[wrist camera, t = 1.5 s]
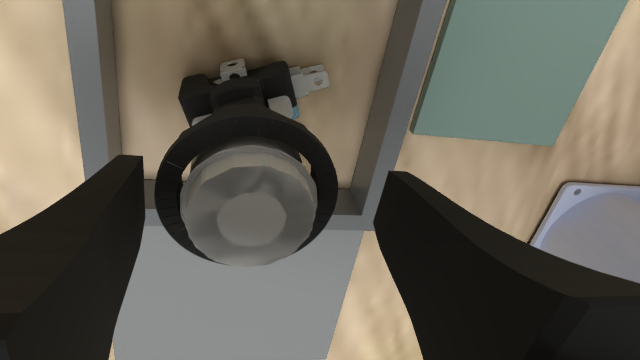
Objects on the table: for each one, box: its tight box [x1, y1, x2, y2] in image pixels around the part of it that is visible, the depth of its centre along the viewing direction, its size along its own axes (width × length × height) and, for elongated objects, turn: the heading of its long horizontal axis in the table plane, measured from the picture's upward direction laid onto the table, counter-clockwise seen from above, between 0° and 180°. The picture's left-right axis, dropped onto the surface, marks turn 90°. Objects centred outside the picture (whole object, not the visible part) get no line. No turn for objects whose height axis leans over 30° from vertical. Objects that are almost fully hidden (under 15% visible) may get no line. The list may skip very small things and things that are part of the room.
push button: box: [154, 58, 338, 268], centre depth 16 cm, size 7×5×10 cm
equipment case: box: [62, 0, 447, 360], centre depth 22 cm, size 14×27×2 cm, turn 169°
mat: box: [410, 0, 629, 146], centre depth 21 cm, size 9×11×1 cm
